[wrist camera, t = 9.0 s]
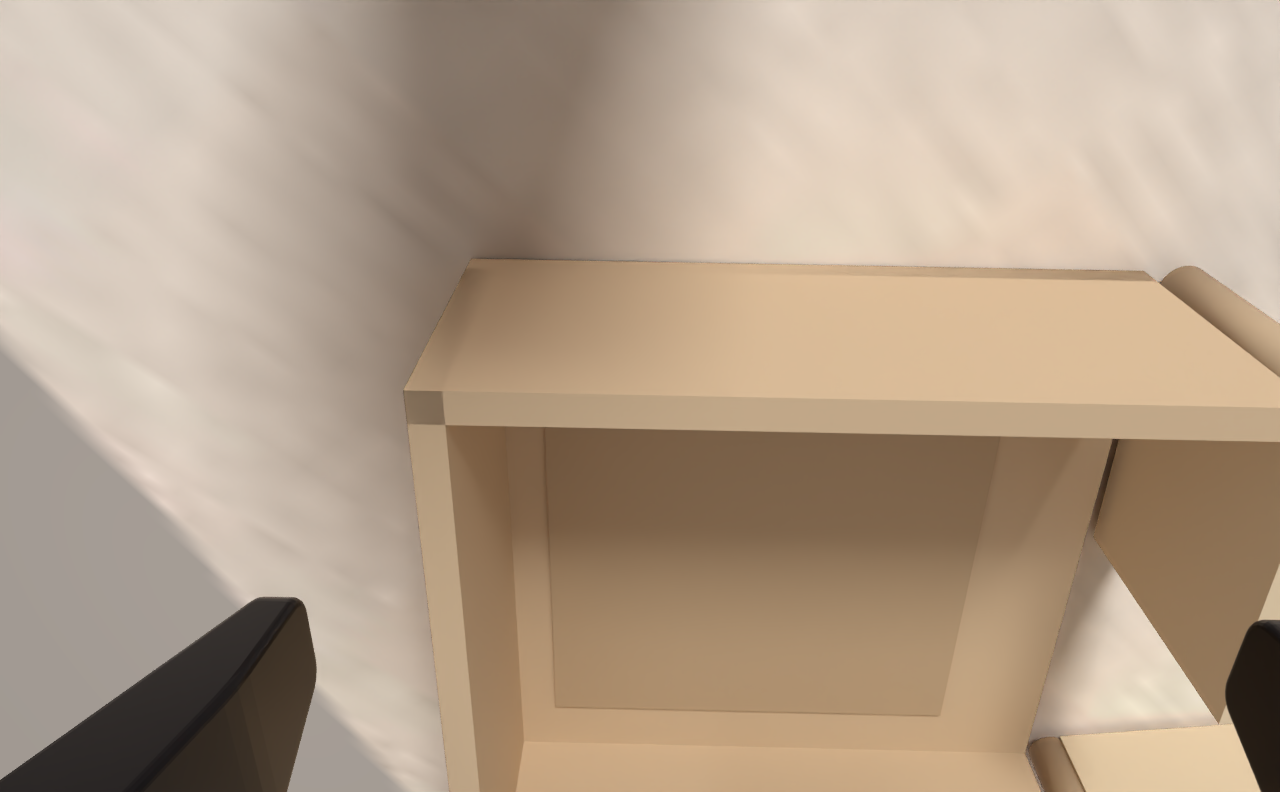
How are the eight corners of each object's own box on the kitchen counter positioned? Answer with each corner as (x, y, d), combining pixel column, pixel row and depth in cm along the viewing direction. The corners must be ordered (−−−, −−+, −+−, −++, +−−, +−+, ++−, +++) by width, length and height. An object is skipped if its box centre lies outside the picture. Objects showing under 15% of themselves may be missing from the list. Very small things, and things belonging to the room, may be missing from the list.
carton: (1144, 270, 20) (1318, 408, 15) (1013, 751, 26) (1101, 967, 21) (470, 258, 20) (403, 390, 15) (506, 739, 27) (467, 951, 21)
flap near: (1218, 266, 20) (1416, 397, 15) (1139, 537, 23) (1279, 724, 18) (1164, 265, 20) (1342, 397, 15) (1093, 536, 23) (1218, 724, 18)
